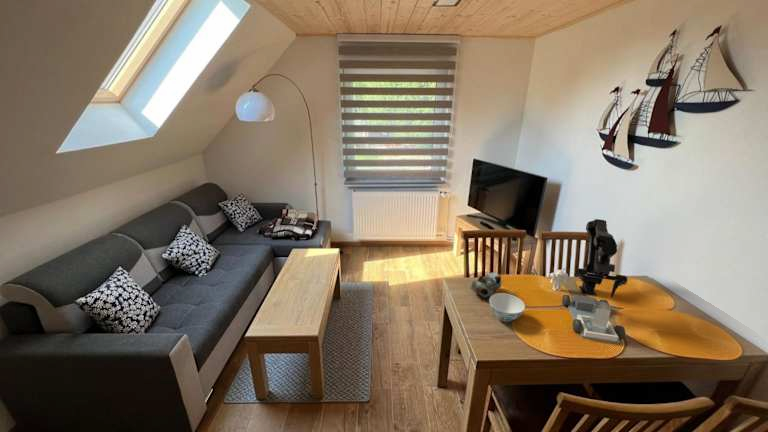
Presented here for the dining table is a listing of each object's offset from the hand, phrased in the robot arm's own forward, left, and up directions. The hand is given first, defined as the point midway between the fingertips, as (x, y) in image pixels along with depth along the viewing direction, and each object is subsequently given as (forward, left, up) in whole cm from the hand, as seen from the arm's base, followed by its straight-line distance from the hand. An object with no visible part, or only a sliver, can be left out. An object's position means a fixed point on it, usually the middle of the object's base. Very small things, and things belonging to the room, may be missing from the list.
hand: (598, 295), depth 145 cm
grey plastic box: (+9, -1, -11) cm, 15 cm away
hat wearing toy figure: (-22, -10, -13) cm, 27 cm away
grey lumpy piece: (-9, -47, -13) cm, 49 cm away
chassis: (+1, -1, -12) cm, 13 cm away
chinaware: (+9, -38, -13) cm, 41 cm away
